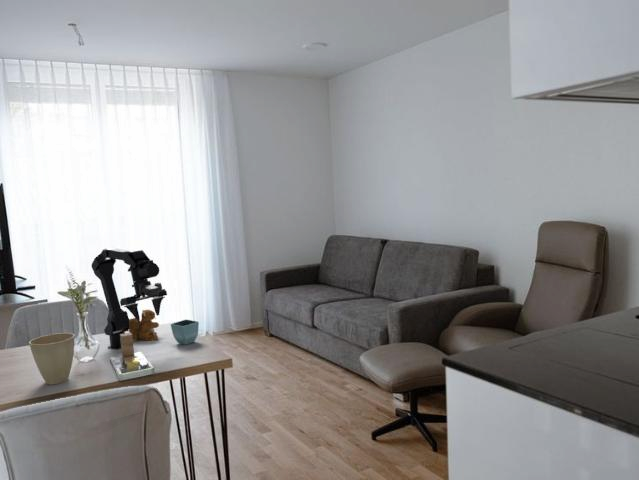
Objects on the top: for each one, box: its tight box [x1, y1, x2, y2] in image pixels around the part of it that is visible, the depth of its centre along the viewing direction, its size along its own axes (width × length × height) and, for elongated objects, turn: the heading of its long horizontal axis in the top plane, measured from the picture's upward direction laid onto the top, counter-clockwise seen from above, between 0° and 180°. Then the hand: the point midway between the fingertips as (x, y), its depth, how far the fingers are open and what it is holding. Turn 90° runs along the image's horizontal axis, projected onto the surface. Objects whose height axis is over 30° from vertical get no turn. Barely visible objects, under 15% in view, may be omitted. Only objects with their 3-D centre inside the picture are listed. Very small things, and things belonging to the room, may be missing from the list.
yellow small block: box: [125, 358, 140, 372], centre depth 209 cm, size 5×4×3 cm
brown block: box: [120, 332, 136, 367], centre depth 215 cm, size 8×4×11 cm, turn 28°
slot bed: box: [109, 351, 149, 375], centre depth 215 cm, size 18×12×2 cm, turn 27°
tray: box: [115, 361, 156, 381], centre depth 203 cm, size 8×12×3 cm
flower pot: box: [170, 319, 199, 346], centre depth 242 cm, size 9×9×9 cm
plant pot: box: [28, 332, 76, 385], centre depth 202 cm, size 15×15×16 cm
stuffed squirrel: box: [128, 309, 160, 342], centre depth 252 cm, size 10×14×13 cm
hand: (148, 318), depth 226 cm, fingers open, 9 cm apart
